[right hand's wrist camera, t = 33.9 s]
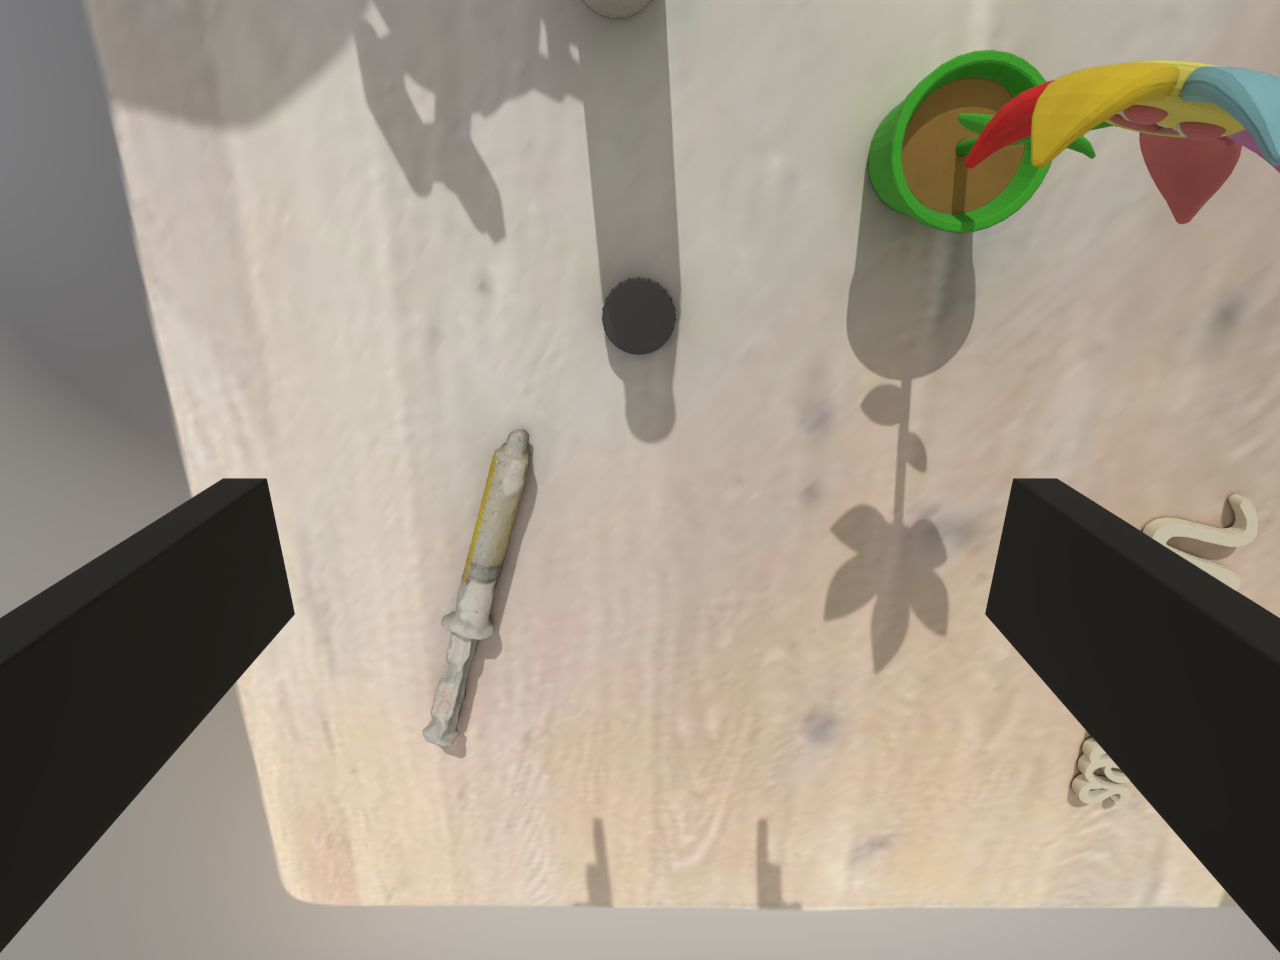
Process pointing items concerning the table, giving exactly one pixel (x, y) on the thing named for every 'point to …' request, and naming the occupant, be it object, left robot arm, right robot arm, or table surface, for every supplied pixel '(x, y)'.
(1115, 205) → the table surface
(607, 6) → the bottle
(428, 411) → the table surface
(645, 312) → the cap
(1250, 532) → the decorative sign
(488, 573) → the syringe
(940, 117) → the potted flower
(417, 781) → the table surface
